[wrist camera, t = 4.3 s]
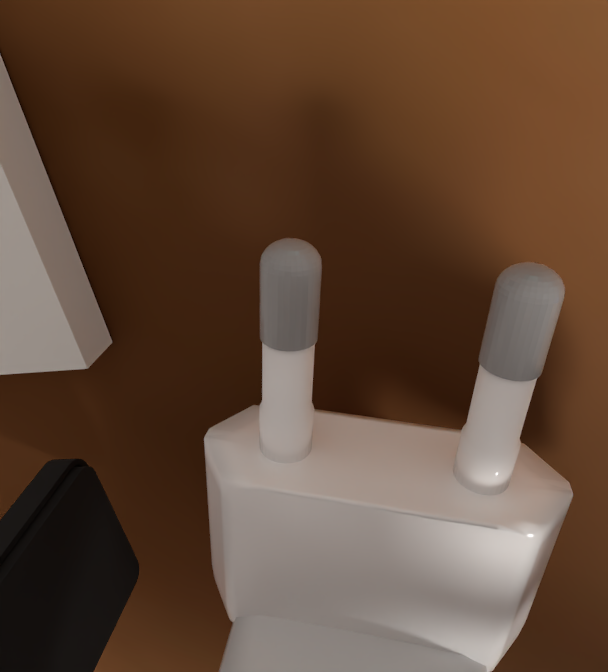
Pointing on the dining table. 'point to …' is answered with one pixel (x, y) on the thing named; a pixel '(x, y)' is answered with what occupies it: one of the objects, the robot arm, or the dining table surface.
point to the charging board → (39, 262)
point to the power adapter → (381, 500)
